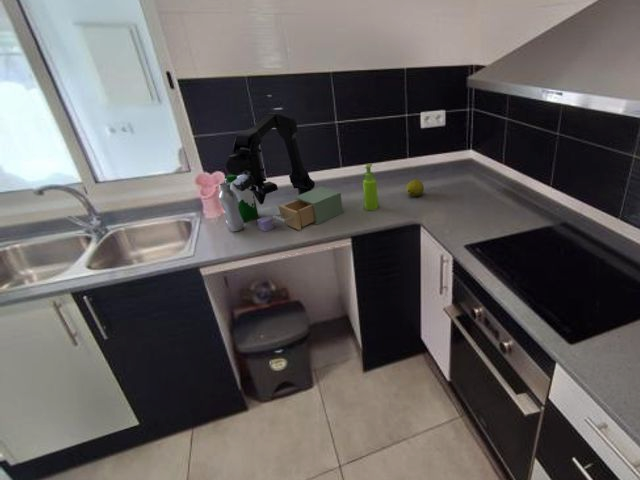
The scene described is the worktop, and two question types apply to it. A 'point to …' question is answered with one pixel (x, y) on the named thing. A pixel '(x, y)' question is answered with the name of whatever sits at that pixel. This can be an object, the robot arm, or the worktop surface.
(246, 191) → the milk carton
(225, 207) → the plastic bottle
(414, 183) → the lemon
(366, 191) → the soap dispenser
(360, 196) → the worktop surface
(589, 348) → the worktop surface
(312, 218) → the drawer
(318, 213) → the green drawer box
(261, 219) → the purple cube
